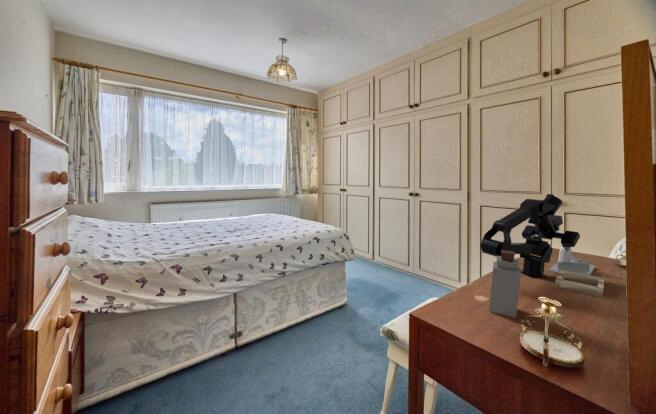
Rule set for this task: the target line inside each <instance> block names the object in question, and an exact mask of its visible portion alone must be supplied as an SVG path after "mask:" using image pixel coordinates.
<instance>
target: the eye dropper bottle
mask: <svg viewBox="0 0 656 414" xmlns="http://www.w3.org/2000/svg"><path fill="white" fill-rule="evenodd" d="M572 251H573V250H572V247H570V249H569V251H566V250H565V249H564V248H563V247H562V246H561V247H560V248H559V251H558V252H559V253H558V260H557V261H559V262H570V259H571V256H572Z"/></svg>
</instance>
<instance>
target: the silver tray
mask: <svg viewBox="0 0 656 414" xmlns="http://www.w3.org/2000/svg"><path fill="white" fill-rule="evenodd" d="M595 268H596V265H593V264H591V262H588V261H587V260H584V259H581V258H578V257H575V256H573V255H571V259H570V262H559V261H558V260H557V261H555V263H554V264H553V265H552V266H550V267H549V271H550V272H554V273H558V274H559V272H560V271H561V270H566V271H571V272H576V273H581V274H586V275H592V274H593V271H594V270H595Z"/></svg>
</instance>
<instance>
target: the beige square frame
mask: <svg viewBox="0 0 656 414" xmlns="http://www.w3.org/2000/svg"><path fill="white" fill-rule="evenodd" d="M604 286H605V277H602V276H601V277H600V276H597V275H596V276H595V275H592V274H591V275H586V274H581V273H576V272H571V271H566V270H561V271H560V272H559V273H558V275H557V276H556V278H555V281H554V287H556V288H560V289H564V290H567V291H572V292H577V293H580V294H585V295H589V296H594V297H597V298H603V295H604V289H605V287H604Z"/></svg>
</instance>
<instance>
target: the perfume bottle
mask: <svg viewBox="0 0 656 414" xmlns="http://www.w3.org/2000/svg"><path fill="white" fill-rule="evenodd" d="M515 255H516V254H515V253H514V251H506V250H501V256H497V257H496V261H493V265H492V273H491V274H492V276H491V288H490V299H489V307H488V312H489V313H491V314H492V313H493V314H495V315H496V314H497V315H502V316H506V317H511V318H513V319H514V318H515V319H516V318H517V313H518V304H519V295H520V293H519V292H520V287H521V286H520V284H521V274H522V273H521V271H522V270H521V266H520V265H519V258H517V257H516V258H515Z"/></svg>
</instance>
